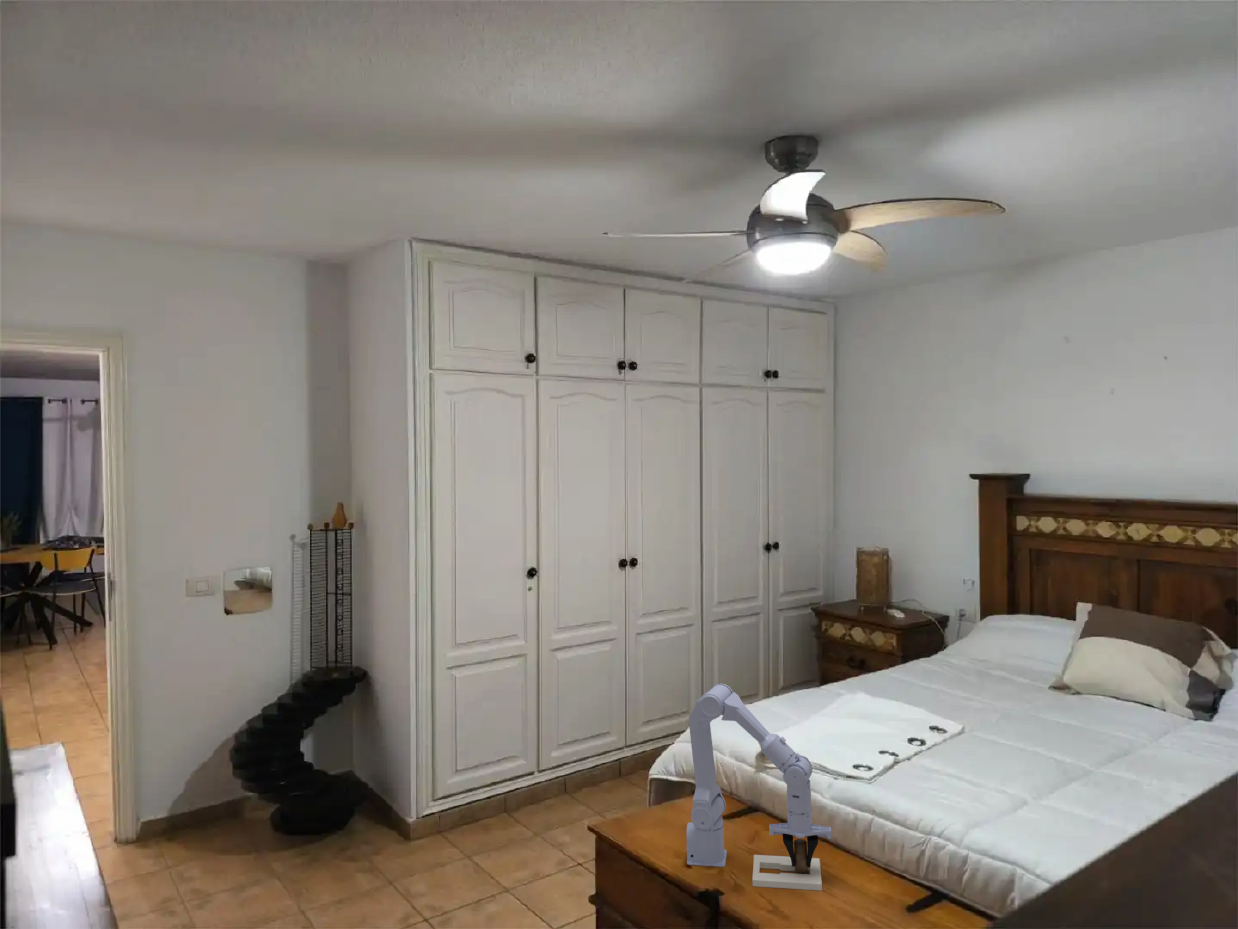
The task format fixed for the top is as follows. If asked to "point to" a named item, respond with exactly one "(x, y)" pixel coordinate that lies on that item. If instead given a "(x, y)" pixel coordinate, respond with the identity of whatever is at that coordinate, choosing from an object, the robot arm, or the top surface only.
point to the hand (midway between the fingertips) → (801, 865)
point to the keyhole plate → (785, 874)
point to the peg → (800, 856)
